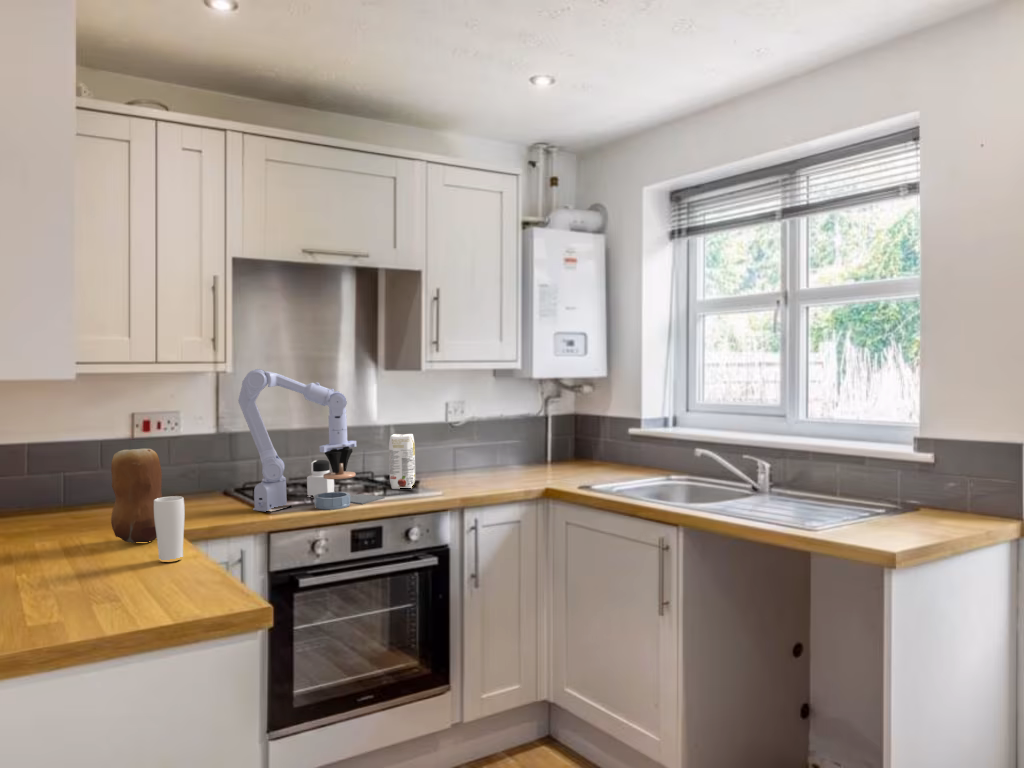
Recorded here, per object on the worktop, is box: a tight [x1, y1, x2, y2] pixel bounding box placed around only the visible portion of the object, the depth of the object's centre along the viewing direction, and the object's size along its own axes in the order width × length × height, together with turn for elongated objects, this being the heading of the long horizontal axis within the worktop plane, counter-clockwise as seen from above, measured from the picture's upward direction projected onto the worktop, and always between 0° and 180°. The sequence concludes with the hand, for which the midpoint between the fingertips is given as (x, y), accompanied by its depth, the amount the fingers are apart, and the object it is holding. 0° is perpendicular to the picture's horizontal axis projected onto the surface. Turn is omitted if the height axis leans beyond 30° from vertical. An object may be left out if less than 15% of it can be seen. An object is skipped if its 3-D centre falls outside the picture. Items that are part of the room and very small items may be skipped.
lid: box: [324, 463, 357, 480], centre depth 249 cm, size 10×10×4 cm
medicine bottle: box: [306, 459, 335, 496], centre depth 265 cm, size 7×7×12 cm
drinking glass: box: [154, 495, 186, 560], centre depth 186 cm, size 7×7×15 cm
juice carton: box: [388, 433, 416, 490], centre depth 277 cm, size 8×9×19 cm
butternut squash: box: [110, 448, 163, 544], centre depth 204 cm, size 14×13×25 cm
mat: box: [350, 493, 386, 505], centre depth 257 cm, size 11×11×1 cm
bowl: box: [313, 491, 351, 511], centre depth 247 cm, size 11×11×4 cm
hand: (339, 471), depth 249 cm, fingers closed on lid, 3 cm apart
